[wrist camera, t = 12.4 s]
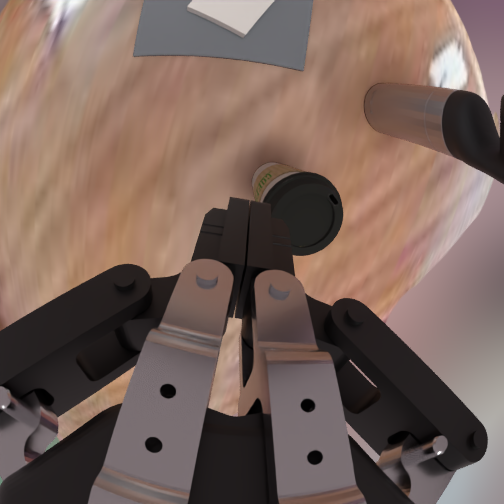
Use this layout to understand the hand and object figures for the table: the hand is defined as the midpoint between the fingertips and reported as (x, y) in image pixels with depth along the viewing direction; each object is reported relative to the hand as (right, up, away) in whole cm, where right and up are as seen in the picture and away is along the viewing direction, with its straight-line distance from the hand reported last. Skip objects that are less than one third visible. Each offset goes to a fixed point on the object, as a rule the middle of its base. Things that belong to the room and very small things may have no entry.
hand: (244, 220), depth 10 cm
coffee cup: (+3, +10, +31) cm, 33 cm away
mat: (-3, +34, +15) cm, 37 cm away
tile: (-4, +29, +15) cm, 33 cm away
